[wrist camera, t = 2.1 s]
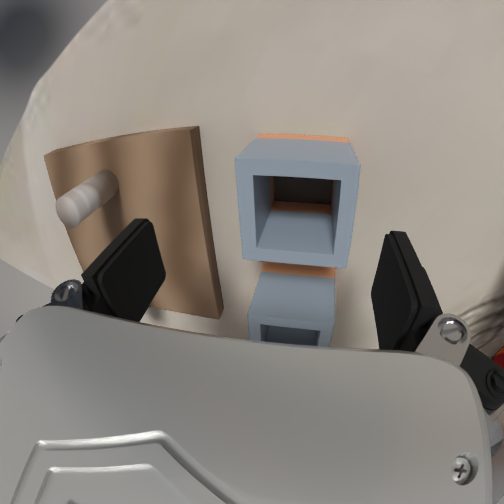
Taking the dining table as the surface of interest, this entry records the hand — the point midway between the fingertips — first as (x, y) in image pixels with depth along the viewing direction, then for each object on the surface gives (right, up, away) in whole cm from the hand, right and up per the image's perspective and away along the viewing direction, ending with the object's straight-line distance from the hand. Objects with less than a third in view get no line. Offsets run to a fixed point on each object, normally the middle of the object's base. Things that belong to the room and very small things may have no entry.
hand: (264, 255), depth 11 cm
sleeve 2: (+3, -3, +13) cm, 14 cm away
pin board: (-11, +2, +13) cm, 18 cm away
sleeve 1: (+3, +5, +7) cm, 9 cm away
